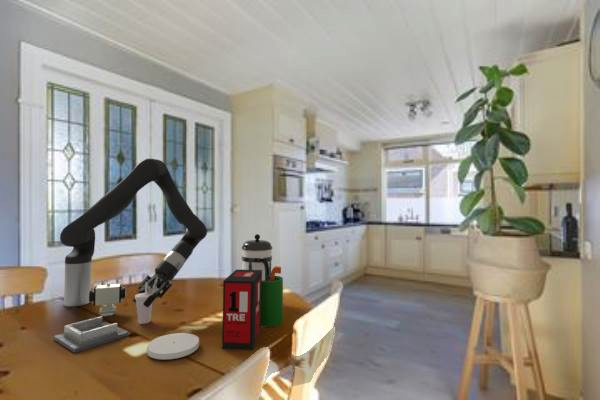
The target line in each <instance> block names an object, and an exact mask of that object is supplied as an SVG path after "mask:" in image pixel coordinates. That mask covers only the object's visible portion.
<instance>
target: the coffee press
mask: <svg viewBox="0 0 600 400" xmlns="http://www.w3.org/2000/svg"><path fill="white" fill-rule="evenodd" d="M260 238H261V235H260V234H259V233H258V234H257V233H256V234H255V235H254V239H251V240H246V241H245V242H243V244H242V245H241V250H242V256H241V262H242V263H241V265H242V266H241V267H242V268H241V270H262V281H264V280H267V276H271V272H272V260H273V254H272V250H273V246H272V243H271V242H269V241H268V240H265V239H262V240H261V239H260Z"/></svg>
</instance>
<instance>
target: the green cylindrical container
mask: <svg viewBox="0 0 600 400" xmlns="http://www.w3.org/2000/svg"><path fill="white" fill-rule="evenodd" d="M276 274H282V267H281V266H274V267H273V268H271V276H267V280H264V281H262V302H261V326H266V327H265V328H270V327H269V326H274V327H276V325H278V326H280V325H282V324H283V323H282V322H284V287H283V286H284V283H283V282H284V280H283V279H284V278H283V277H282V276H281V275H276ZM281 323H282V324H281ZM279 324H280V325H279Z"/></svg>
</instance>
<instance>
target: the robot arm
mask: <svg viewBox="0 0 600 400" xmlns="http://www.w3.org/2000/svg"><path fill="white" fill-rule="evenodd" d="M151 182H153V183H155V184H156V185H157V186H158V188H160V190H161V191H162V194H163V196H164V198H165V201H166V205H167V207H168V209H169V212H170V213H171V214H172V215H173V217H174V218H175V220H176V222H177V223H178V224H180V225H183V226H184V228H185V229H186V230H187V231H186V232H185V233H184V234H183V236H182V237H181V238H180V240H179V241H178V242H177V243H176V244H175V245H174V246H173V248H171V250H170V251H169V252H168V253H167V254H166V255H165V256H164V257H163V258H162V260H161V261H160V262H159V263H158V265H157V266H156V267H155V269H154V272H155V273H154V274H153V275H152V276H150V275H146V277H144V279H143V280H142V281H141V283H140V284H139V285H138V287H137V290H138V293H137V294H139V293H145V282H147V292H151V295H150V296H149V297H148V298H147V299H146V301H145V302H144V303H143V305H144V306H146V307H149V306H150V305H151V304H152V302H153V303H154V301H155V300H156V299H158V298H160V299H161V298H163V296H164V295H165V294H166V293H167V291H168V290H169V289H170V288H171V287H172V286H173V283H172V281H173V280H174V279H175V277H176V275H177V274H178V273H179V272H180V271H181V269H182V268H183V266H184V265H185V263H186V262H187V260H188V259H189V258H190V256H191V255H192V253H193V252H194V249H196V247H197V246H198V245H199V243H200V242H201V241H203V240H204V239H205V238H206V236H207V235H208V229H207V227H206V225H205V223H204V222H203V221H202V220H201V219H200V218H199V217H198V216H197V215H196V214H194V212H193V210H192V209H191V207H190V206H189V204H188V203H187V201H186V200H185V199H184V197H183V196H182V194H181V192H180V191H179V189H178V186H177V185H176V183H175V181H174V179H173V178H172V175H171V173H170V170H169V169H168V167H167V165H166V163H165V162H164V161H162V160H159V159H157V158H156V159H155V158H145V159H143V160H140V162H139V163H138V164H137V165H136V166H135V167H134V168H133V169H132V170H131V171H130V173H128V174H127V175H126V176H125V178H123V179H122V180H121V181H120V182H119V183H117V184H116V185H115V186H114V187H113V188H112V189H110V190H109V191H108V192H106V193H105V194H104V195H103V196H102V197H101V198H100V199H99V200H98V201H97V202H95V203H94V204H93V205H92V206H91V207H90V208H89V209H87V210H86V211H85V212H84V213H83V214H82V215H80V216H79V217H78V218H76V219H75V220H73V221H72V222H70V223H69V224H67V225H65V227H64V228H63V229H62V230H61V232H60V236H59V240H60V242H61V244H62V245H64V246H66V247H70V248H71V247H73V248H72V250H71V252H69V253H68V254H67V255H66V256H65V258H64V286H63V288H64V289H63V306H64V307H79V306H84V305H88V304H89V303H91V302H89V292H90V290H92V264H93V263H92V258H93V256H94V254H95V243H96V231H95V228H97V227H99V226H102V224H105V223H106V222H108V221H110V220H113V219H115V218H116V217H117V216H119V215H120V214H121V213H122V212H124V211H125V210H126V209H127V208H128V207H129V206H130V204H132V202H133V200H134V199H135V196H136V194H137V193H138V192H139V191H140V190H141V189H143V188H144V187H145V186H146V185H148V184H149V183H151ZM132 302H133V303H135V304H136V299H135V297H133V299H132ZM152 305H153V304H152Z"/></svg>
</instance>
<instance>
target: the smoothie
mask: <svg viewBox="0 0 600 400" xmlns="http://www.w3.org/2000/svg"><path fill="white" fill-rule="evenodd" d="M138 293H139V292H138ZM138 293H137V294H134V298H135V299H136V303H135V304H136V313H137V323H138V324H139V325H140V324H141V325H145V324H149V323H150V322H151V316H152V310H153V303H154V301H153V302H152V304H151V305H150V306H149V307H146V306H144V305H143V303H144V302H145V301H146V299H147V298H148V297H149V296H150V295H151V293H152V291H149V292H147V282H145V293H139V294H138Z"/></svg>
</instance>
